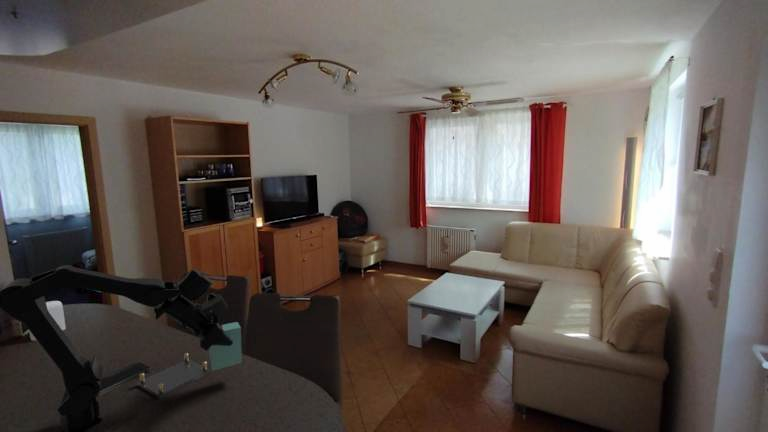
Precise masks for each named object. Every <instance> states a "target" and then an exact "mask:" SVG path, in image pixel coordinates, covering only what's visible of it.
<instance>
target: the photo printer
mask: <svg viewBox="0 0 768 432" xmlns="http://www.w3.org/2000/svg"><path fill="white" fill-rule="evenodd" d="M46 305H47V309H48V312H49V313H50V314H51V316H52V317H53V318H54V320H55V321H56V322H57V324H58V325H59V327H60V328H61V329H62V331H63V332H64V330H66V319H65V314H64V307H63V303H62V302H61V301H59V300H51V301H46ZM28 333H29V338H30V341H33V342H35V341H37V340H36V338H35V337H34V336H33V334H32V333H31V332H30V331H29V330H28Z"/></svg>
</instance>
